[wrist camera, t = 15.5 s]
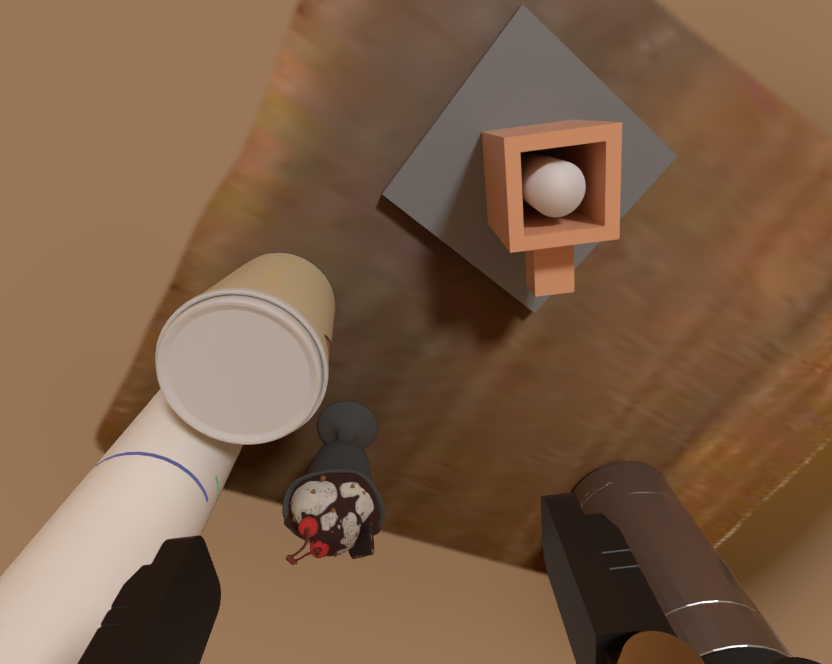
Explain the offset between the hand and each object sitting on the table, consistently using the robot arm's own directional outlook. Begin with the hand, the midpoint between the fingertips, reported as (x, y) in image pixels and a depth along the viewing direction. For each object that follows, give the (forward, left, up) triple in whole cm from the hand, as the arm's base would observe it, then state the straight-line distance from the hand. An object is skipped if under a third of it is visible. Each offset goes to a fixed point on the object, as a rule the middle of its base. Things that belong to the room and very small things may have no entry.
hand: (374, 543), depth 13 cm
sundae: (-6, +14, -28) cm, 32 cm away
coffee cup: (+4, +8, -28) cm, 30 cm away
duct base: (-4, -10, -28) cm, 30 cm away
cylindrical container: (+4, +18, -28) cm, 34 cm away
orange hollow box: (-5, -9, -27) cm, 29 cm away
